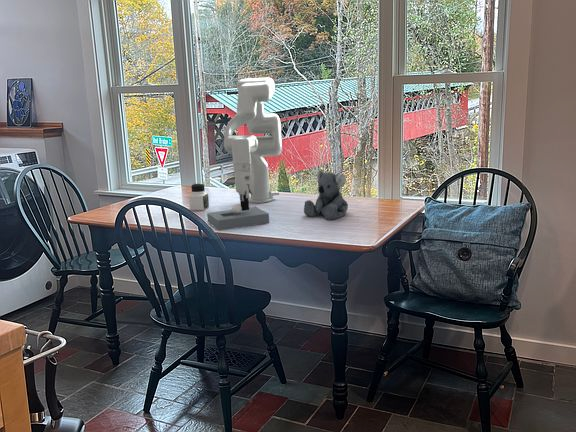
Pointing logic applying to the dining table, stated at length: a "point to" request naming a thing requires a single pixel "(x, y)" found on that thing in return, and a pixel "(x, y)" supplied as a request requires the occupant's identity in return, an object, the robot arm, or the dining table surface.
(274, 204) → the dining table surface
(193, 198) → the medicine bottle
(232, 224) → the grey flat block
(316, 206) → the koala plush
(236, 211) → the ball
